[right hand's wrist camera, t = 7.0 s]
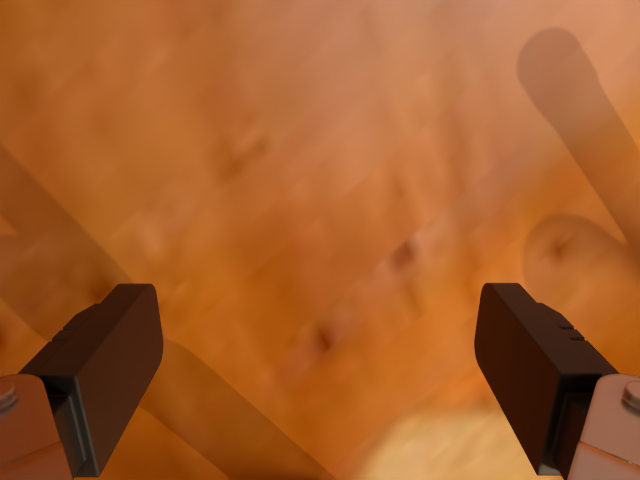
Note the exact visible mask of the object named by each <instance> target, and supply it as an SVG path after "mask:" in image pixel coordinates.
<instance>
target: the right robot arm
mask: <svg viewBox="0 0 640 480" xmlns="http://www.w3.org/2000/svg"><path fill="white" fill-rule="evenodd" d="M474 347H475V355H476V360H477V363H478V365H479V367H480V369H481V371H482V373H483V374H484V376H485V378H486V380H487V382H488V384H489V386H490V388H491V389H492V391H493V393H494V395H495V397H496V399H497V401H498V403H499V404H500V406H501V408H502V410H503V412H504V414H505V416H506V418H507V420H508V421H509V423H510V425H511V427H512V429H513V431H514V433H515V435H516V436H517V438H518V440H519V442H520V444H521V446H522V448H523V450H524V451H525V453H526V455H527V457H528V459H529V461H530V463H531V465H532V466H533V468H534V470H535V472H536V474H537V475H562V477H563V479H564V480H640V377H638V376H633V375H627V374H619V373H618V372H617V370H616V369H615V368H614V367H613V366H612V365H611V364H610V363H609V362H608V361H607V360H606V359H605V358H604V357H603V356H602V355H601V354H600V353H599V352H598V351H597V350H596V349H595V348H594V347H593V346H592V345H591V344H590V343H589V342H588V341H585V340H584V337H583V336H582V335H581V334H580V333H579V332H578V331H577V330H574V327H573V326H572V325H571V324H570V323H569V321H568V320H567V319H566V318H565V317H564V316H563V315H562V314H560V313H559V312H557V311H555V310H553V309H551V308H550V307H548V306H546V305H544V304H543V303H537V302H536V301H535V300H534V299H533V298H532V297H531V296H530V295H529V294H528V293H527V292H526V290H525V289H524V288H523V287H522V286H521V285H520V284H518V283H486V284H484V286H483V288H482V291H481V297H480V304H479V311H478V318H477V325H476V333H475V341H474ZM162 354H163V336H162V329H161V322H160V315H159V308H158V301H157V294H156V290H155V288H154V286H153V285H152V284H118V285H117V286H116V287H115V288H114V289H113V290H112V291H111V292H110V294H109V295H108V296H107V297H106V298H105V299H104V300H103V301H102V302H101V303H100V304H94V305H92V306H91V307H89V308H87V309H85V310H83V311H82V312H80V313H78V314H76V315H75V316H74V317H73V318H72V319H71V320H70V321H69V322H68V323H67V324H66V325H65V326H64V327H63V330H60V331H59V332H58V333H57V334H56V335H55V336H54V337H53V338H52V342H48V343H47V345H46V346H45V347H44V348H43V349H42V350H41V351H40V352H39V353H38V354H37V355H36V356H35V357H34V358H33V359H32V360H31V361H30V362H29V363H28V364H27V365H26V366H25V367H24V368H23V369H22V370H21V371H20V372H19V373H18V374H13V375H7V376H2V377H0V480H73V479H74V477H99V476H100V475H101V473H102V471H103V469H104V467H105V465H106V463H107V462H108V460H109V458H110V456H111V454H112V452H113V450H114V449H115V447H116V445H117V443H118V441H119V439H120V437H121V436H122V434H123V432H124V430H125V428H126V426H127V424H128V423H129V421H130V419H131V417H132V415H133V413H134V412H135V410H136V408H137V406H138V404H139V402H140V400H141V399H142V397H143V395H144V393H145V391H146V389H147V387H148V386H149V384H150V382H151V380H152V378H153V376H154V374H155V373H156V371H157V369H158V367H159V365H160V362H161V359H162Z"/></svg>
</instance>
